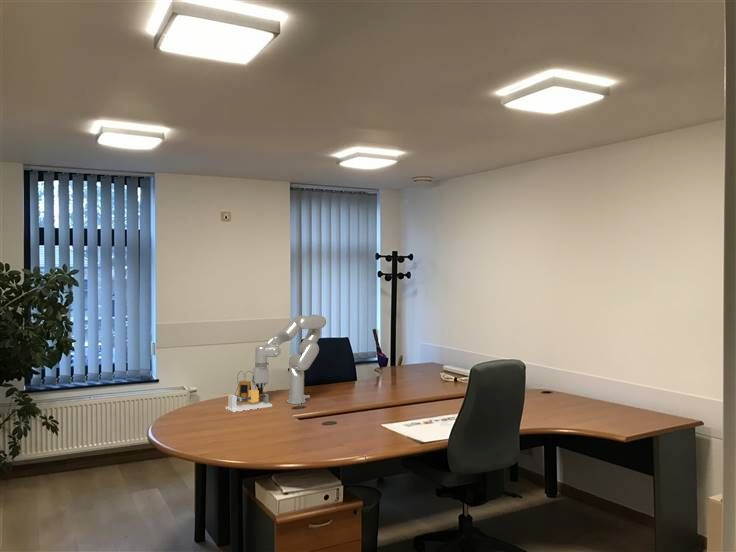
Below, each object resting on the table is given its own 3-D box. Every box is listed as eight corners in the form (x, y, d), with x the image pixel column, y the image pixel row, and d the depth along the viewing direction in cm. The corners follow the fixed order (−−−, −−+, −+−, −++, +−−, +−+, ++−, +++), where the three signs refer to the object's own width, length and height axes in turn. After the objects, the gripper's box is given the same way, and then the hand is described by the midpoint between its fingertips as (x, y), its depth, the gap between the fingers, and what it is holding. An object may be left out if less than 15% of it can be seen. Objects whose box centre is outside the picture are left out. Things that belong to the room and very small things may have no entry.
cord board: (264, 403, 377) (264, 389, 377) (272, 406, 369) (272, 392, 369) (225, 409, 360) (225, 394, 360) (233, 412, 352) (233, 397, 352)
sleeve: (255, 400, 369) (255, 389, 369) (258, 401, 366) (258, 390, 366) (248, 401, 366) (248, 390, 366) (251, 402, 363) (251, 391, 363)
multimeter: (258, 398, 390) (259, 369, 390) (254, 402, 381) (255, 371, 381) (237, 398, 392) (238, 368, 392) (232, 401, 382) (233, 370, 382)
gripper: (268, 363, 377) (267, 391, 377) (247, 365, 367) (246, 394, 367) (274, 365, 371) (273, 393, 371) (253, 366, 362) (252, 396, 362)
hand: (260, 393), depth 369 cm, fingers closed
